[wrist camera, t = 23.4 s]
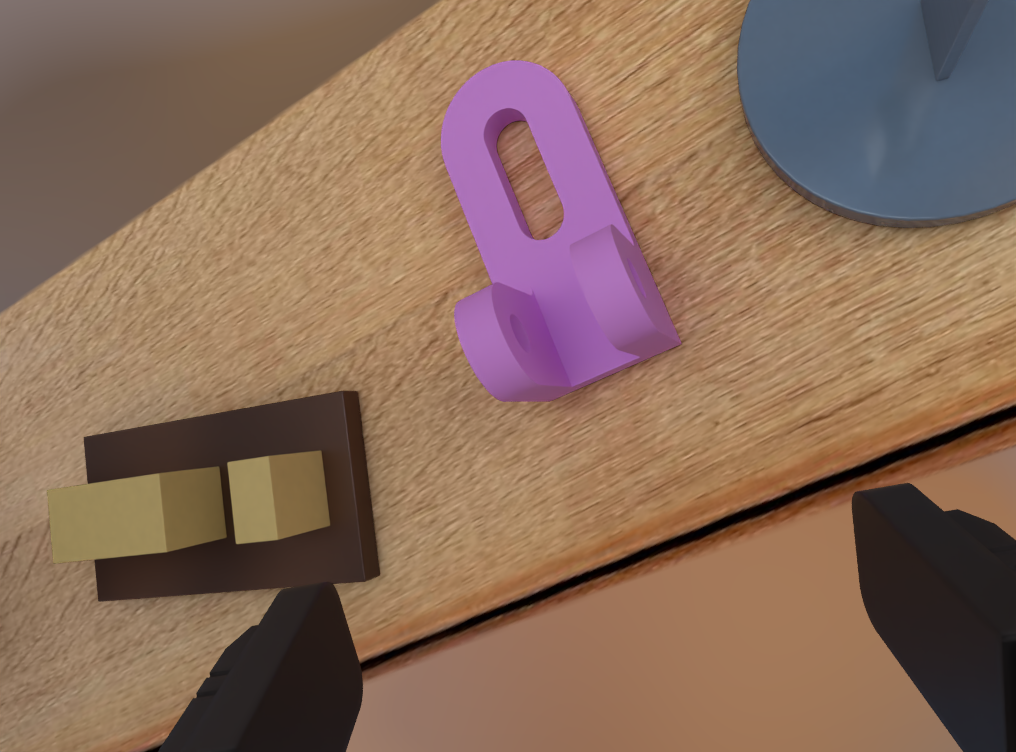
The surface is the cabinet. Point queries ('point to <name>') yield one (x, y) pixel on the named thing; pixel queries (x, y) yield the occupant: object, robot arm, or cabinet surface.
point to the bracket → (546, 248)
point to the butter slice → (278, 496)
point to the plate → (881, 109)
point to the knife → (949, 30)
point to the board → (222, 562)
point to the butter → (136, 515)
